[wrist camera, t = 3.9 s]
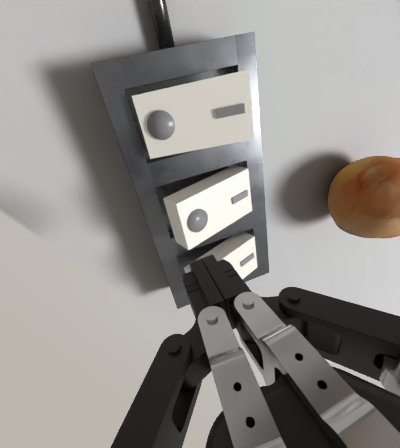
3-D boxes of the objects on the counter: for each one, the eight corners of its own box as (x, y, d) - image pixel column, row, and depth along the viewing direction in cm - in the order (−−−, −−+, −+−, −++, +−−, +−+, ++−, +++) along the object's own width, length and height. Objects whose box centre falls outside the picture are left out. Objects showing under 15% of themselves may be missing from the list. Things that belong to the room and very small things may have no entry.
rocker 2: (240, 230, 27) (255, 236, 25) (244, 260, 29) (258, 267, 27) (183, 267, 23) (196, 278, 22) (193, 298, 25) (205, 310, 24)
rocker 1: (244, 70, 17) (249, 69, 15) (249, 134, 19) (254, 139, 17) (138, 94, 18) (130, 96, 16) (155, 152, 20) (149, 159, 18)
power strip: (216, -108, 17) (243, -161, 13) (253, 254, 33) (269, 272, 30) (36, -94, 15) (13, -153, 11) (170, 286, 31) (177, 308, 28)
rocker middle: (232, 165, 23) (249, 168, 21) (237, 205, 25) (253, 211, 24) (162, 198, 19) (177, 204, 18) (176, 241, 22) (189, 251, 20)
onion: (382, 161, 33) (475, 182, 25) (343, 224, 36) (413, 262, 28) (337, 137, 29) (430, 151, 20) (298, 210, 32) (364, 249, 24)
